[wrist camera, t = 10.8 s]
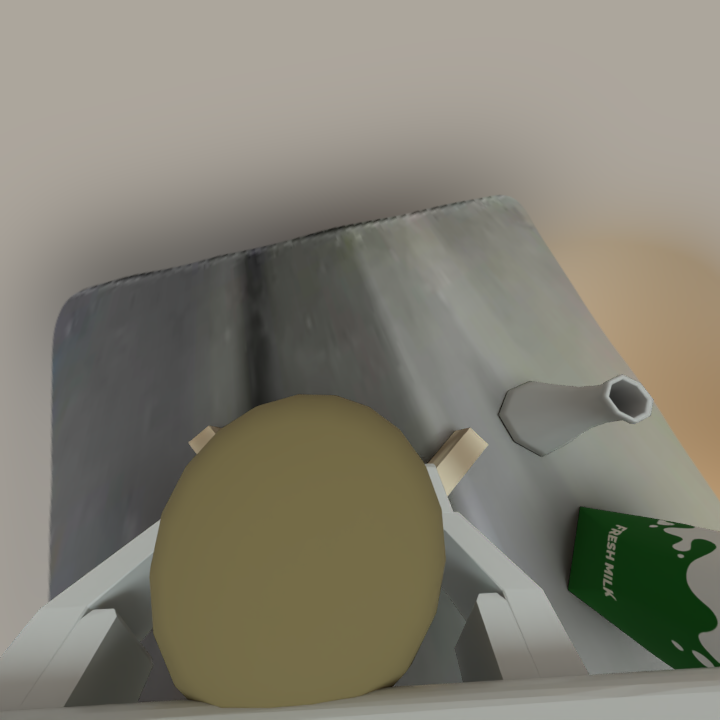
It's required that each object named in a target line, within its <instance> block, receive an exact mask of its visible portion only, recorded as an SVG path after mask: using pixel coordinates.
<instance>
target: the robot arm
mask: <svg viewBox="0 0 720 720" xmlns="http://www.w3.org/2000/svg"><path fill="white" fill-rule="evenodd" d="M425 466H426V468H427V470H428V473H429V476H430V479H431V481H432V484H433V487H434V490H435V492H436V495H437V498H438V501H439V503H440V506H441V509H442V518H443V530H444V542H445V555H446V562H445V567H444V573H443V578H442V584H441V587H442V588H443V590H444V591H445V592H446V594H447V595H448V597H449V598H450V599H451V601H452V602H453V604H454V605H455V606H456V608H457V609H458V611H459V612H460V613H461V615H462V616H463V618H464V619H465V620H466V624H465V626H464V629H463V631H462V633H461V635H460V637H459V640H458V642H457V644H456V646H455V652H456V656H457V660H458V664H459V668H460V672H461V676H462V680H463V683H448V684H432V685H416V686H399V687H387V688H383V689H379V690H375V691H373V692H370V693H367V694H365V695H362V696H358V697H354V698H347V699H341V700H336V701H330V702H324V703H318V704H312V705H302V706H289V707H277V708H220V707H217V706H214V705H211V704H207V703H204V702H199V701H194V700H172V701H155V702H139V703H137V702H138V700H139V697H140V695H141V693H142V690H143V688H144V686H145V683H146V681H147V679H148V676H149V674H150V672H151V669H152V667H153V661H152V657H151V656H150V655H149V654H148V652H147V651H146V650H145V648H144V647H143V646H142V644H141V643H140V642H141V641H142V640H143V639H144V638H145V636H146V635H147V634H148V633H149V632H150V631H151V630H152V628H153V621H152V607H151V593H150V579H149V576H150V566H151V562H152V557H153V552H154V548H155V543H156V538H157V534H158V529H159V524H160V520H161V519H160V520H159V521H158V522H156V523H155V524H153V525H152V526H151V527H149V528H148V529H147V530H145V531H144V532H143V533H141V534H140V535H139V536H137V537H136V538H135V539H133V540H132V541H131V542H129V543H128V544H127V545H125V546H124V547H123V548H121V549H120V550H119V551H117V552H116V553H114V554H113V555H112V556H110V557H109V558H108V559H106V560H105V561H104V562H102V563H101V564H100V565H98V566H97V567H96V568H94V569H93V570H92V571H90V572H89V573H88V574H86V575H85V576H84V577H82V578H81V579H79V580H78V581H77V582H75V583H74V584H73V585H71V586H70V587H69V588H67V589H66V590H65V591H63V592H62V593H61V594H59V595H58V596H57V597H55V598H54V599H53V600H51V601H50V602H49V603H47V604H46V605H45V606H43V607H42V608H41V609H39V611H38V612H37V613H36V614H35V615H34V617H33V618H32V619H31V620H30V622H29V623H28V624H27V625H26V626H25V628H24V629H23V630H22V631H21V633H20V634H19V635H18V636H17V638H16V639H15V640H14V641H13V642H12V644H11V645H10V646H9V647H8V649H7V650H6V651H5V653H4V654H3V655H2V656H1V657H0V720H720V667H708V668H691V669H675V670H659V671H643V672H627V673H610V674H594V675H589V673H588V671H587V669H586V668H585V666H584V664H583V662H582V660H581V658H580V657H579V655H578V653H577V651H576V649H575V648H574V646H573V644H572V642H571V640H570V638H569V637H568V635H567V633H566V631H565V629H564V628H563V626H562V624H561V622H560V620H559V618H558V617H557V615H556V613H555V611H554V609H553V607H552V606H551V604H550V602H549V600H548V598H547V597H546V595H545V593H544V591H543V589H542V588H540V587H539V586H538V585H537V584H536V583H535V582H534V581H533V580H532V579H531V578H530V577H529V576H527V575H526V574H525V573H524V572H523V571H522V570H521V569H520V568H519V567H518V566H517V565H515V564H514V563H513V562H512V561H511V560H510V559H509V558H508V557H507V556H506V555H505V554H504V553H502V552H501V551H500V550H499V549H498V548H497V547H496V546H495V545H494V544H493V543H492V542H490V541H489V540H488V539H487V538H486V537H485V536H484V535H483V534H482V533H481V532H480V531H479V530H477V529H476V528H475V527H474V526H473V525H472V524H471V523H470V522H469V521H468V520H467V519H465V518H464V517H463V516H462V515H461V514H460V513H459V512H453V510H452V507H451V504H450V502H449V499H448V497H447V494H446V492H445V489H444V486H443V484H442V481H441V479H440V476H439V474H438V471H437V469H436V466H435V465H434V464H425Z"/></svg>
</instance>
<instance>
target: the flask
mask: <svg viewBox="0 0 720 720" xmlns="http://www.w3.org/2000/svg"><path fill="white" fill-rule="evenodd" d="M653 400H654V399H653V398H652V397H651V396H650V394H649V393H648V392H647V391H646V389H645V388H644V387H643V386H642V384H641V383H639V382H637V381H635V380H633V379H631V378H629V377H627V376H625V375H623V374H621V375H618V376H616V377H614V378H612V379H610V380H608V381H606V382H604V383H603V384H601V385H597V386H584V387H574V386H564V385H555V384H548V383H541V382H534V381H529V382H527V383H525V384H522V385H520V386H518V387H516V388H514V389H512V390H509V391H508V392H507V395H506V397H505V400H504V403H503V405H502V408H501V410H500V413H499V416H500V418H501V419H502V421H503V423H504V424H505V426H506V428H507V429H508V431H509V433H510V434H511V436H512V438H513V440H514V441H515V442H516V443H518V444H520V445H522V446H524V447H525V448H527V449H529V450H531V451H533V452H535V453H536V454H538V455H540V456H542V457H543V456H545V455H547V454H549V453H551V452H553V451H555V450H557V449H558V448H560V447H562V446H564V445H566V444H568V443H569V442H571V441H572V440H574V439H575V438H577V437H578V436H580V435H581V434H582V433H584V432H586V431H587V430H589V429H591V428H593V427H596V426H598V425H601V424H604V423H607V422H613V421H620V420H624V421H626V422H628V423H631V424H635V423H638V422H640V421H642V420H644V419H645V418H647V417H649V416H651V411H652V406H653Z"/></svg>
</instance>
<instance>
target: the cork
mask: <svg viewBox="0 0 720 720" xmlns="http://www.w3.org/2000/svg"><path fill="white" fill-rule="evenodd" d="M445 562H446V555H445V542H444V530H443V518H442V509H441V506H440V503H439V501H438V498H437V495H436V492H435V490H434V487H433V484H432V481H431V479H430V476H429V473H428V470H427V468H426V466H425V464H424V462H423V461H422V460H421V458H420V457H419V455H418V454H417V453H416V451H415V450H414V449H413V447H412V446H411V444H410V443H409V442H408V440H407V439H406V438H405V436H404V435H403V433H402V432H401V431H400V429H398V428H397V427H396V426H394V425H393V424H392V423H390V422H389V421H388V420H386V419H385V418H383V417H382V416H381V415H379V414H378V413H377V412H375V411H374V410H373V409H371V408H370V407H368V406H365V405H362V404H359V403H356V402H353V401H350V400H348V399H345V398H342V397H339V396H336V395H302V394H298V395H294V396H291V397H287V398H284V399H281V400H277V401H274V402H270V403H267V404H263V405H260V406H257V407H255V408H253V409H252V410H250V411H248V412H247V413H245V414H244V415H242V416H241V417H239V418H237V419H236V420H234V421H233V422H231V423H230V424H228V425H226V426H225V427H223V428H222V429H220V430H219V431H218V432H217V433H216V434H215V435H214V436H213V437H212V438H211V439H210V440H209V441H208V443H207V444H206V445H205V446H204V447H203V448H202V449H201V450H200V451H199V453H198V454H197V455H196V456H195V457H194V458H193V459H192V460H191V461H190V462H189V464H188V465H187V466H186V467H185V469H184V471H183V473H182V475H181V477H180V479H179V481H178V483H177V485H176V487H175V489H174V491H173V492H172V494H171V496H170V498H169V500H168V502H167V504H166V506H165V508H164V510H163V512H162V515H161V520H160V524H159V529H158V534H157V538H156V543H155V548H154V552H153V557H152V562H151V566H150V576H149V579H150V593H151V607H152V621H153V634H154V636H155V639H156V641H157V644H158V646H159V649H160V651H161V653H162V656H163V658H164V661H165V663H166V665H167V668H168V670H169V673H170V675H171V678H172V680H173V682H174V685H175V687H176V688H177V689H178V690H179V691H180V692H181V693H182V694H183V695H184V696H185V697H186V698H187V699H188V700H194V701H199V702H204V703H207V704H211V705H214V706H217V707H220V708H277V707H289V706H302V705H312V704H318V703H324V702H330V701H336V700H341V699H347V698H354V697H358V696H362V695H365V694H367V693H370V692H373V691H375V690H379V689H383V688H387V687H392V686H393V685H394V684H395V683H396V682H397V681H398V680H399V679H400V678H401V677H402V676H403V675H404V674H405V673H406V671H407V670H408V668H409V667H410V665H411V664H412V662H413V660H414V658H415V656H416V653H417V651H418V649H419V647H420V645H421V643H422V641H423V639H424V637H425V635H426V633H427V631H428V629H429V627H430V625H431V623H432V621H433V619H434V616H435V614H436V611H437V606H438V600H439V595H440V589H441V584H442V578H443V573H444V567H445Z"/></svg>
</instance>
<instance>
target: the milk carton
mask: <svg viewBox="0 0 720 720" xmlns="http://www.w3.org/2000/svg"><path fill="white" fill-rule="evenodd" d="M568 590H569V591H570V592H571V593H573V594H574V595H575V596H577V597H578V598H579V599H581V600H582V601H583V602H585V603H586V604H587V605H589V606H590V607H591V608H593V609H594V610H595V611H597V612H598V613H599V614H600V615H602V616H603V617H604V618H606V619H607V620H608V621H610V622H611V623H612V624H614V625H615V626H616V627H618V628H619V629H620V630H622V631H623V632H624V633H626V634H627V635H628V636H630V637H631V638H632V639H633V640H635V641H636V642H637V643H639V644H640V645H641V646H643V647H644V648H645V649H647V650H648V651H649V652H651V653H652V654H654V655H655V656H656V657H658V658H659V659H661V660H662V661H663V662H665V663H666V664H668V665H669V666H671V667H672V668H674V669H691V668H708V667H720V531H715V530H710V529H705V528H700V527H696V526H691V525H686V524H681V523H676V522H670V521H665V520H659V519H653V518H647V517H641V516H635V515H629V514H623V513H617V512H610V511H604V510H598V509H592V508H586V507H580V511H579V518H578V525H577V532H576V538H575V545H574V552H573V559H572V566H571V573H570V579H569V586H568Z"/></svg>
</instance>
